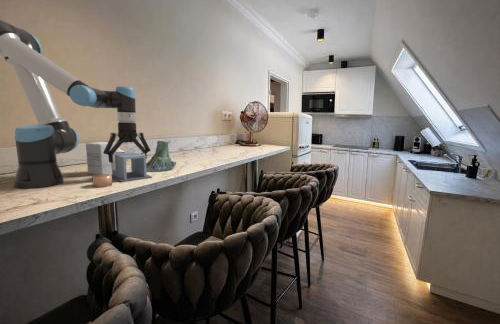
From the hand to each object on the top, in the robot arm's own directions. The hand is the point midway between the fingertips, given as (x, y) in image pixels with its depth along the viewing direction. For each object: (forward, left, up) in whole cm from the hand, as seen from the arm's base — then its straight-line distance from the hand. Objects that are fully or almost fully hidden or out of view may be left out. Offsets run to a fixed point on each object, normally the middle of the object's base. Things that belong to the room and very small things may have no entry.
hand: (129, 167), depth 116 cm
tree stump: (-11, +21, -5) cm, 24 cm away
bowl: (+8, -14, -4) cm, 17 cm away
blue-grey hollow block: (0, 0, -4) cm, 4 cm away
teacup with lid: (-28, +6, -4) cm, 29 cm away
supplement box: (-17, -6, -5) cm, 19 cm away
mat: (0, 0, -4) cm, 4 cm away
